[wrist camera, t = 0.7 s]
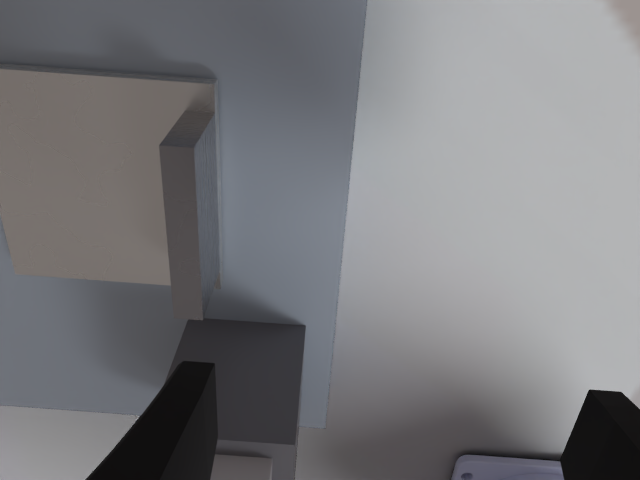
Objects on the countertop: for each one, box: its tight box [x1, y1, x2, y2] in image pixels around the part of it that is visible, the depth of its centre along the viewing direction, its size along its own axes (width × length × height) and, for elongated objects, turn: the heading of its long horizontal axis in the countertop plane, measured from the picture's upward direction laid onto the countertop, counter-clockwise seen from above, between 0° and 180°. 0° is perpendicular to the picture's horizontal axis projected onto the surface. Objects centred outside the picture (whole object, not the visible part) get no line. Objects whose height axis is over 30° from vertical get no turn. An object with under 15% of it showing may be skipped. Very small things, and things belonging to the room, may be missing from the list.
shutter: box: [0, 63, 223, 320], centre depth 16 cm, size 6×6×3 cm
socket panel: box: [0, 0, 367, 429], centre depth 19 cm, size 17×16×2 cm
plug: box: [164, 318, 306, 480], centre depth 18 cm, size 4×4×6 cm
